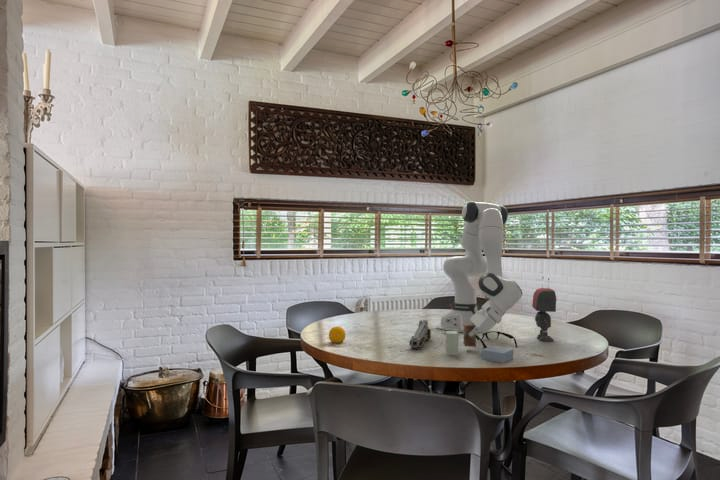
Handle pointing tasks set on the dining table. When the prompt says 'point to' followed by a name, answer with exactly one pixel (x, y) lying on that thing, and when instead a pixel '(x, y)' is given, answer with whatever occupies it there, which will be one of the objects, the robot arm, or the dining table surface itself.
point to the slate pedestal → (497, 354)
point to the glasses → (496, 338)
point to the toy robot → (544, 311)
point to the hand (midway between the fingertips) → (468, 333)
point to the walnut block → (467, 339)
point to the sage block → (451, 342)
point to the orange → (337, 335)
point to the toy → (420, 335)
